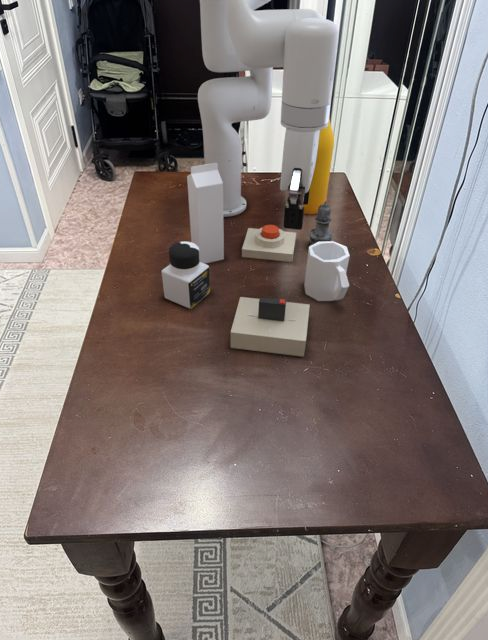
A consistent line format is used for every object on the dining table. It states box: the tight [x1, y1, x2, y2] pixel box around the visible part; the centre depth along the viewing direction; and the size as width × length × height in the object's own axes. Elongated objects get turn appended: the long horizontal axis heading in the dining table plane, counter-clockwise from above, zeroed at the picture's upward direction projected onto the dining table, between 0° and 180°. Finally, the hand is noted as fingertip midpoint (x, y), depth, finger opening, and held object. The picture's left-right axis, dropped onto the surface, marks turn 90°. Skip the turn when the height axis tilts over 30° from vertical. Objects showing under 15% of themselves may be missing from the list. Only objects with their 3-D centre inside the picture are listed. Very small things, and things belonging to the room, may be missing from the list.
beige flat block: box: [230, 296, 311, 358], centre depth 96 cm, size 14×11×4 cm
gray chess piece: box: [308, 200, 334, 248], centre depth 117 cm, size 6×6×12 cm
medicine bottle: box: [161, 240, 211, 310], centre depth 101 cm, size 7×7×12 cm
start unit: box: [241, 227, 297, 263], centre depth 119 cm, size 12×10×4 cm
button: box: [261, 224, 280, 239], centre depth 117 cm, size 4×4×2 cm
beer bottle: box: [303, 113, 335, 216], centre depth 126 cm, size 9×9×29 cm
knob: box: [258, 296, 287, 321], centre depth 93 cm, size 5×2×4 cm, turn 81°
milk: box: [186, 163, 225, 265], centre depth 109 cm, size 6×6×22 cm
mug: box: [303, 240, 351, 302], centre depth 103 cm, size 12×9×10 cm
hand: (296, 215), depth 88 cm, fingers open, 9 cm apart
